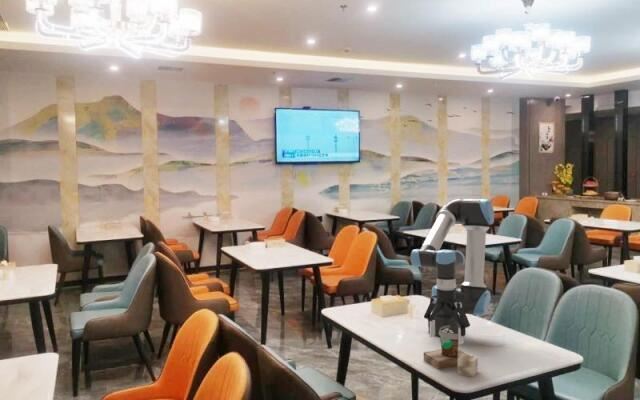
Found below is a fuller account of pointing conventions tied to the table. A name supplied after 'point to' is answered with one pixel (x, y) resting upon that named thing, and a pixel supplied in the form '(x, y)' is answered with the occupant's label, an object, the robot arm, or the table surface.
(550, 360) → the table surface
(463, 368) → the cream cube
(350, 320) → the table surface
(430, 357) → the base block
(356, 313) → the table surface
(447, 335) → the food container
